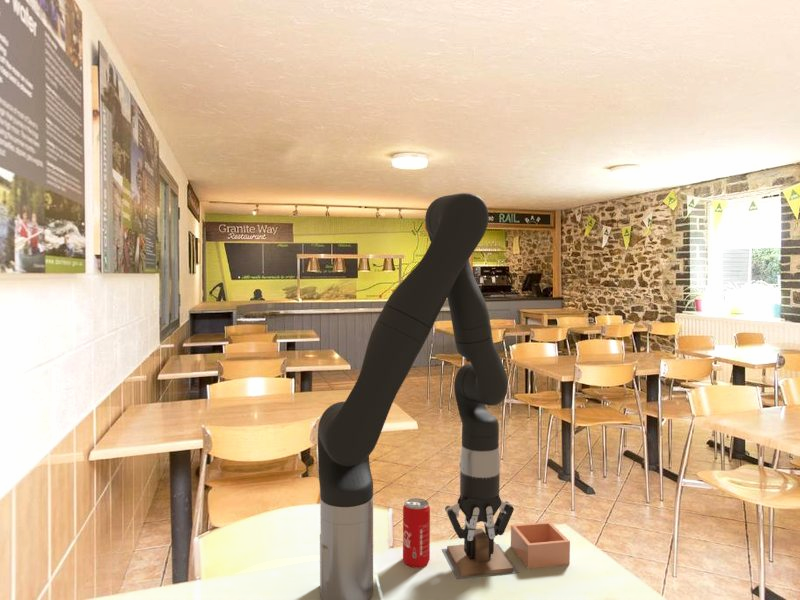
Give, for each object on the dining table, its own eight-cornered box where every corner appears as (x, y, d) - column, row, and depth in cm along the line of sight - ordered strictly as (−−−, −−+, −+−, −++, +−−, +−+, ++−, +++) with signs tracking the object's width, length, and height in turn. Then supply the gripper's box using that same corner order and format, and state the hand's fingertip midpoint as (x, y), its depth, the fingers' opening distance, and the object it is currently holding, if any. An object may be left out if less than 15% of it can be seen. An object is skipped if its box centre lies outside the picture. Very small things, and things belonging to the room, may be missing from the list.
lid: (461, 577, 100) (461, 548, 100) (447, 549, 110) (447, 524, 109) (513, 571, 102) (513, 544, 101) (494, 545, 112) (494, 520, 111)
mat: (457, 582, 99) (457, 579, 99) (441, 552, 110) (441, 549, 110) (519, 575, 101) (519, 572, 101) (498, 546, 112) (498, 543, 112)
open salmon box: (527, 571, 103) (528, 545, 103) (510, 548, 111) (511, 524, 111) (569, 566, 105) (569, 541, 104) (549, 545, 113) (549, 521, 113)
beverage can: (427, 572, 102) (427, 510, 102) (400, 569, 104) (400, 507, 103) (431, 558, 108) (431, 498, 107) (405, 555, 109) (405, 496, 108)
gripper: (449, 478, 100) (449, 570, 101) (522, 473, 102) (520, 563, 103) (439, 464, 107) (439, 549, 108) (507, 460, 110) (505, 543, 111)
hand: (478, 555), depth 106 cm, fingers open, 3 cm apart
